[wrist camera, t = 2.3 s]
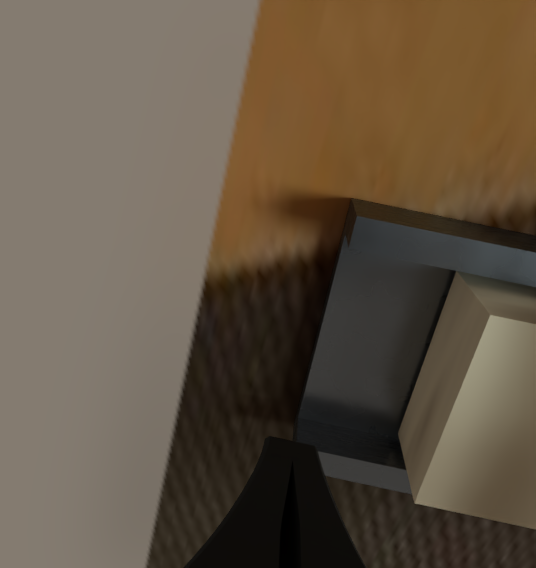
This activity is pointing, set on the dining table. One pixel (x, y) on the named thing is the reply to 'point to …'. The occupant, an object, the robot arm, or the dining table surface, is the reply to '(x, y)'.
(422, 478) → the block
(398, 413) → the chute
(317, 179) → the dining table surface
